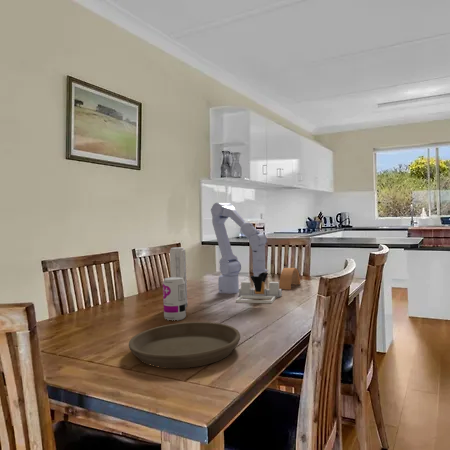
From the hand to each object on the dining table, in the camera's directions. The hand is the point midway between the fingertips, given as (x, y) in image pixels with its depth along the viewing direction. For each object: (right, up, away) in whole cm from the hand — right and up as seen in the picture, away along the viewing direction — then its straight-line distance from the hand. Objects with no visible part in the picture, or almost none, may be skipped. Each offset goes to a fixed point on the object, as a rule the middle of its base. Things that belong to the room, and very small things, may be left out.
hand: (260, 290), depth 182 cm
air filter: (-35, -5, -14) cm, 38 cm away
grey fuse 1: (-6, -3, +2) cm, 7 cm away
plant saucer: (-27, -6, -69) cm, 75 cm away
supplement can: (-35, -6, -33) cm, 48 cm away
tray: (-3, -4, -10) cm, 11 cm away
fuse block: (0, -3, 0) cm, 3 cm away
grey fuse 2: (+6, -2, -2) cm, 7 cm away
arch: (+17, -3, +21) cm, 28 cm away
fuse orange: (0, -2, 0) cm, 2 cm away
